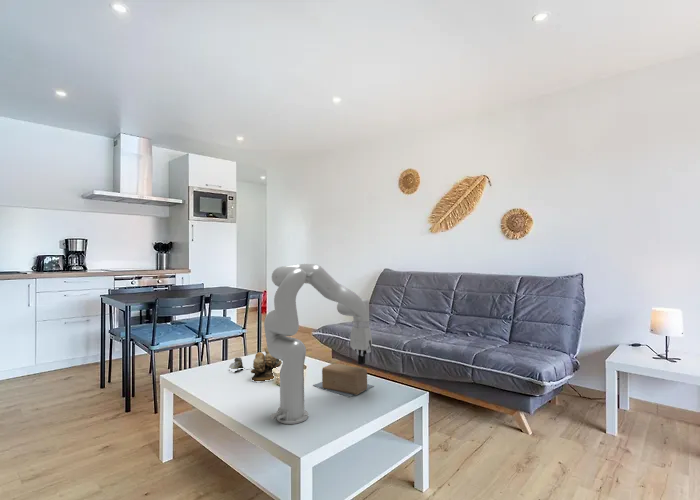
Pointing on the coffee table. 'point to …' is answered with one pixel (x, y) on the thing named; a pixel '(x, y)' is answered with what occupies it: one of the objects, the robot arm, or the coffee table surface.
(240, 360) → the artificial flower
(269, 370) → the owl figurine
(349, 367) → the wooden block
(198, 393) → the coffee table surface
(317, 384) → the mat
